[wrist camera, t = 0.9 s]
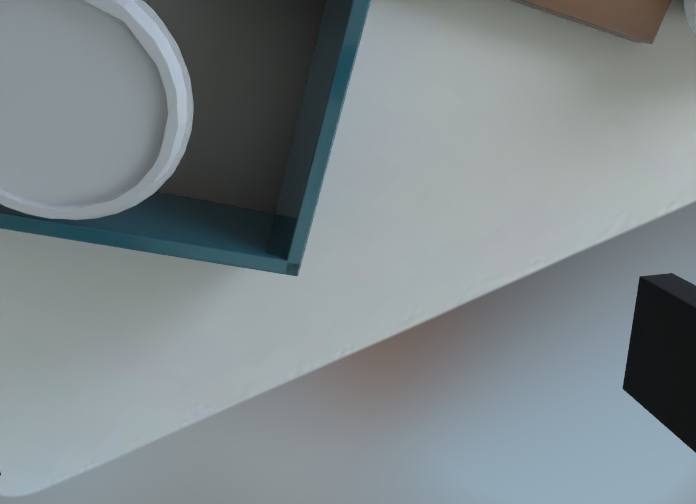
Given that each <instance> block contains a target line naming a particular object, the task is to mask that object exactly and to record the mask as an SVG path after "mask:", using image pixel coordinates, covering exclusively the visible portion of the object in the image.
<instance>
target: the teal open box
mask: <svg viewBox="0 0 696 504" xmlns="http://www.w3.org/2000/svg"><path fill="white" fill-rule="evenodd" d="M370 2H371V0H326V4H325V8H324V12H323V16H322V20H321V25H320V29H319V33H318V37H317V41H316V45H315V50H314V54H313V58H312V62H311V66H310V71H309V75H308V79H307V83H306V87H305V91H304V96H303V100H302V104H301V108H300V112H299V116H298V121H297V125H296V129H295V133H294V137H293V141H292V146H291V150H290V154H289V158H288V162H287V166H286V171H285V175H284V179H283V183H282V187H281V192H280V196H279V200H278V204H277V208H276V212H275V214H271V213H266V212H260V211H255V210H250V209H244V208H239V207H234V206H229V205H223V204H218V203H213V202H208V201H202V200H197V199H192V198H186V197H181V196H176V195H171V194H165V193H160V192H155V193H154V194H152V195H151V196H149V197H148V198H146V199H145V200H143V201H142V202H140V203H139V204H137V205H135V206H133V207H131V208H128V209H126V210H124V211H121V212H119V213H117V214H112V215H108V216H104V217H100V218H94V219H82V220H70V219H49V218H44V217H39V216H34V215H29V214H26V213H23V212H20V211H17V210H14V209H11V208H8V207H6V206H4V205H2V204H0V228H1V229H8V230H14V231H20V232H26V233H32V234H39V235H45V236H51V237H57V238H63V239H70V240H76V241H82V242H88V243H94V244H101V245H107V246H113V247H119V248H125V249H132V250H138V251H144V252H150V253H156V254H163V255H169V256H175V257H181V258H187V259H194V260H200V261H206V262H212V263H218V264H225V265H231V266H237V267H243V268H249V269H256V270H262V271H268V272H274V273H280V274H287V275H293V276H298V274H299V270H300V266H301V262H302V259H303V255H304V251H305V247H306V244H307V240H308V236H309V232H310V228H311V225H312V221H313V217H314V213H315V210H316V206H317V202H318V198H319V194H320V191H321V187H322V183H323V179H324V175H325V172H326V168H327V164H328V160H329V157H330V153H331V149H332V145H333V141H334V138H335V134H336V130H337V126H338V123H339V119H340V115H341V111H342V107H343V104H344V100H345V96H346V92H347V89H348V85H349V81H350V77H351V73H352V70H353V66H354V62H355V58H356V54H357V51H358V47H359V43H360V39H361V36H362V32H363V28H364V24H365V20H366V17H367V13H368V9H369V5H370Z"/></svg>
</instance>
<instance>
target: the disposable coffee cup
mask: <svg viewBox="0 0 696 504" xmlns="http://www.w3.org/2000/svg"><path fill="white" fill-rule="evenodd" d="M193 107H194V103H193V96H192V89H191V81H190V76H189V73H188V70H187V68H186V65H185V62H184V60H183V57H182V54H181V52H180V49H179V47H178V45H177V43H176V41H175V40H174V38H173V37H172V35H171V34H170V32H169V30H168V29H167V27H166V26H165V24H164V23H163V21H162V20H161V19H160V18H159V16H158V15H157V14H156V13H155V11H154V10H153V9H151V8H150V7H149V6H148V5H147V4H146V3H145V2H144V1H143V0H0V204H2V205H4V206H6V207H8V208H11V209H14V210H17V211H20V212H23V213H26V214H29V215H34V216H39V217H44V218H49V219H70V220H82V219H94V218H100V217H104V216H108V215H112V214H117V213H119V212H121V211H124V210H126V209H128V208H131V207H133V206H135V205H137V204H139V203H140V202H142V201H143V200H145V199H146V198H148V197H149V196H151V195H152V194H154V193H155V192H156V191H157V190H158V189H159V188H160V187H161V186H162V185H163V183H164V182H165V181H166V180H167V179H168V178H169V177H170V176H171V175H172V174H173V173H174V171H175V169H176V167H177V166H178V164H179V162H180V160H181V158H182V157H183V155H184V153H185V150H186V147H187V144H188V141H189V137H190V134H191V131H192V121H193Z"/></svg>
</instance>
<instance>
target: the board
mask: <svg viewBox="0 0 696 504" xmlns="http://www.w3.org/2000/svg"><path fill="white" fill-rule="evenodd" d="M511 1H514V2H517V3H520V4H523V5H526V6H529V7H532V8H535V9H538V10H541V11H544V12H547V13H550V14H553V15H556V16H559V17H563V18H566V19H569V20H572V21H575V22H578V23H581V24H584V25H587V26H590V27H593V28H596V29H599V30H602V31H605V32H608V33H611V34H614V35H617V36H620V37H623V38H626V39H629V40H632V41H635V42H640V43H647V44H652V43H653V41H654V38H655V36H656V34H657V31H658V29H659V27H660V25H661V22H662V20H663V18H664V15H665V13H666V11H667V8H668V6H669V4H670V1H671V0H511Z"/></svg>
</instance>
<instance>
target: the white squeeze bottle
mask: <svg viewBox="0 0 696 504" xmlns="http://www.w3.org/2000/svg"><path fill="white" fill-rule="evenodd" d="M684 11H685V15H686V19H687V22H688V25H689V26H690V28H691V29H692V31H693V32H694V33H695V34H696V0H684Z"/></svg>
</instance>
